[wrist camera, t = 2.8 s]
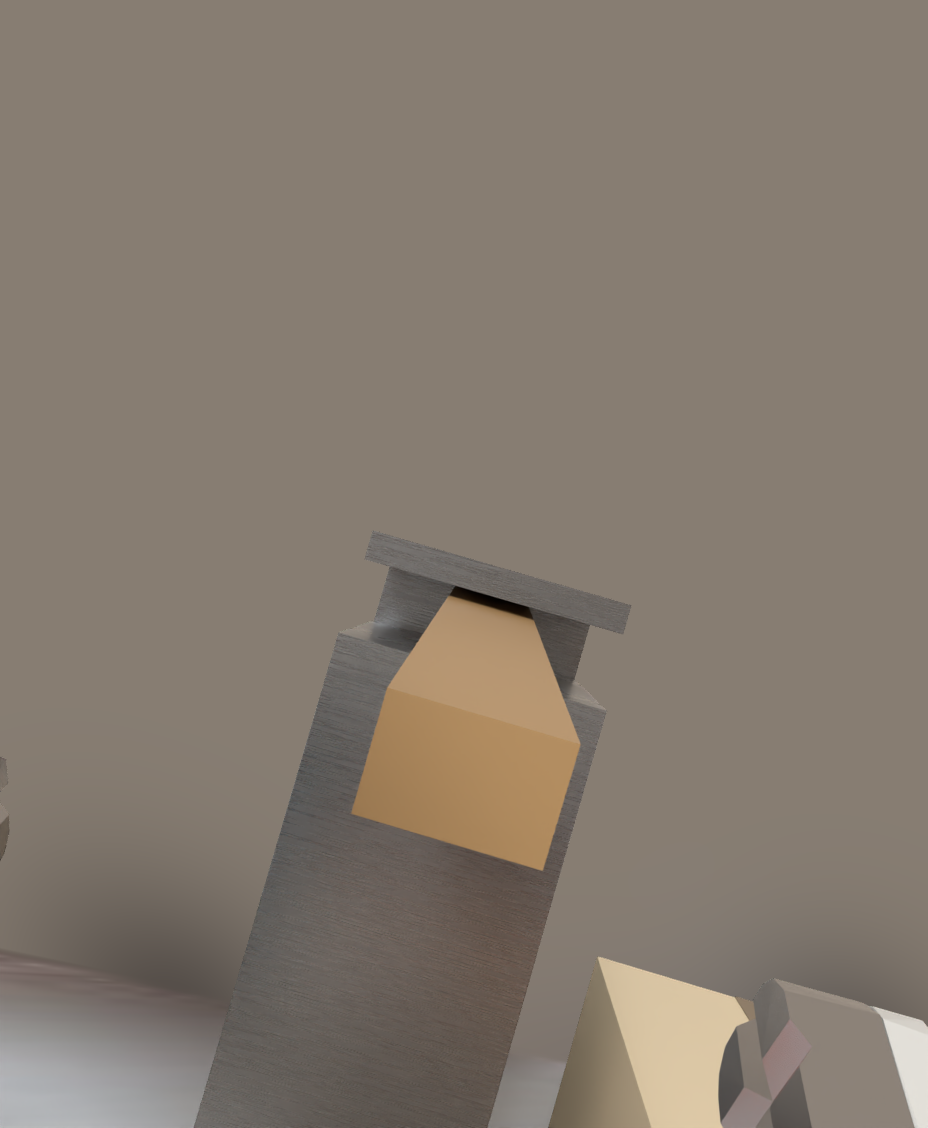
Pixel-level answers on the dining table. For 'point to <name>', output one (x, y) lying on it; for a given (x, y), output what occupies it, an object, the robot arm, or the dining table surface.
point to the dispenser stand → (393, 899)
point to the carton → (646, 1052)
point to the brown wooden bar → (473, 735)
